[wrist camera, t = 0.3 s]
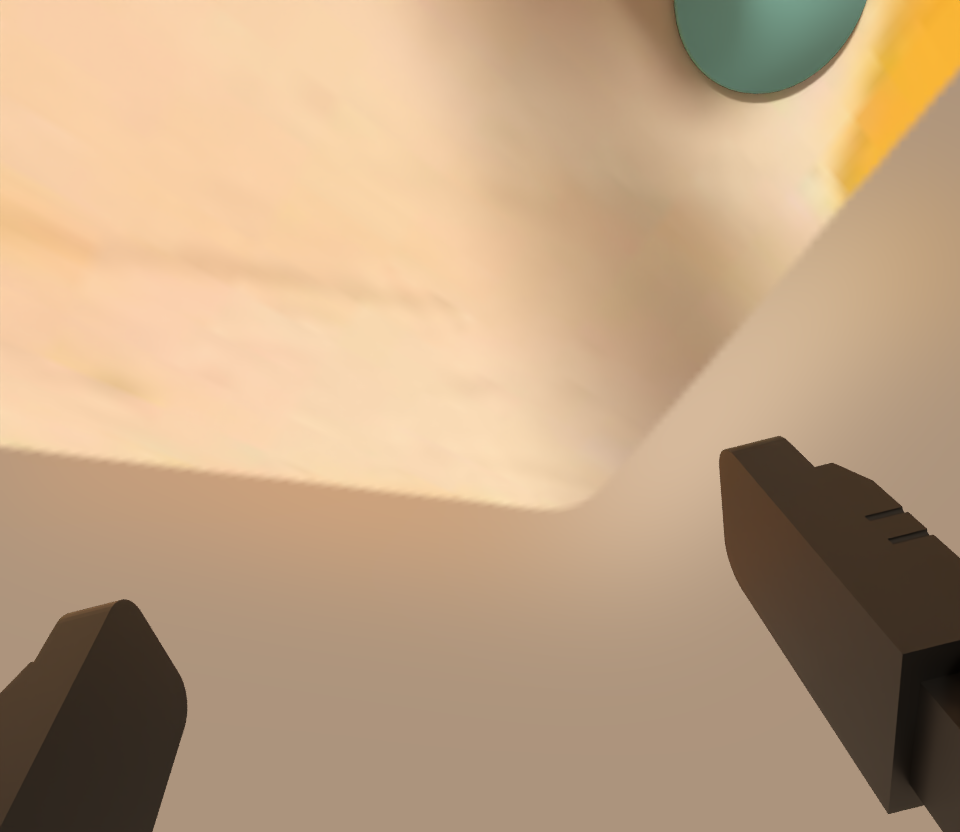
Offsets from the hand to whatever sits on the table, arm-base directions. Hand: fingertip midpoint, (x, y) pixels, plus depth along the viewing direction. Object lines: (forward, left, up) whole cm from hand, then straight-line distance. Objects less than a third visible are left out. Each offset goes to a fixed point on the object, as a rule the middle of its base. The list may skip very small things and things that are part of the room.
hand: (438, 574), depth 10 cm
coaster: (-8, +18, -28) cm, 34 cm away
